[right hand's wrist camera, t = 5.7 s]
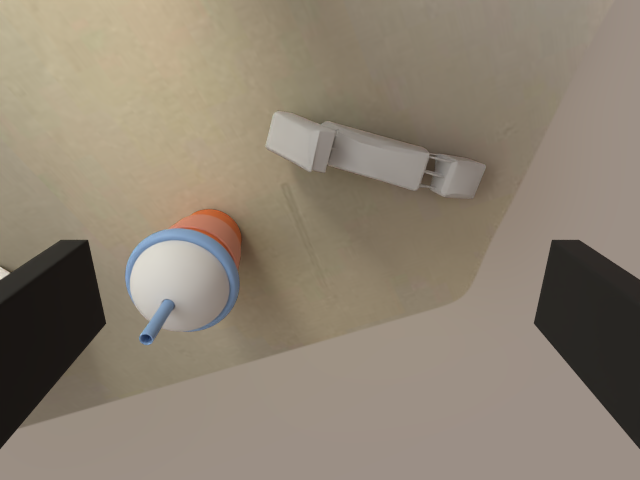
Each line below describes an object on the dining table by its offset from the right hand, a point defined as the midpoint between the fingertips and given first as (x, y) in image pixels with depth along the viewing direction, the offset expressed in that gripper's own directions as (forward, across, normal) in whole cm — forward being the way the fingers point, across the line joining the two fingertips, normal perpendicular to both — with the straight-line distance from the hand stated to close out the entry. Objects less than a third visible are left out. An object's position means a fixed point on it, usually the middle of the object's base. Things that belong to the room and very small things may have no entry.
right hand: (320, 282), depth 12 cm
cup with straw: (+30, +11, +10) cm, 34 cm away
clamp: (+30, -5, +2) cm, 31 cm away
